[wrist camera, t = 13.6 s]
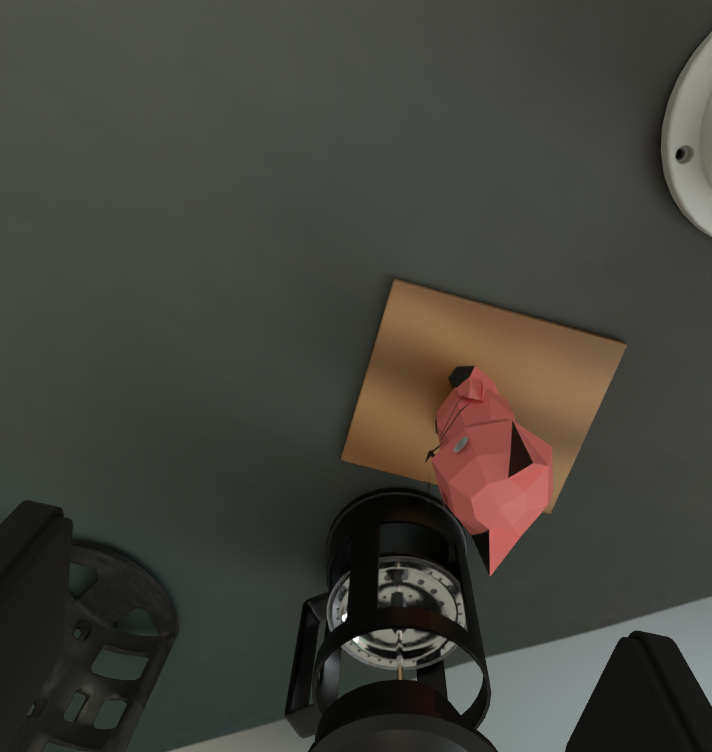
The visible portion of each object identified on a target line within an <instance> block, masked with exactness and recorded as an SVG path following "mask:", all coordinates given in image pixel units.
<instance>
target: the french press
mask: <svg viewBox="0 0 712 752" xmlns="http://www.w3.org/2000/svg"><path fill="white" fill-rule="evenodd" d="M427 500H428V501H429V509H428V502H427ZM387 523H409V524H414V525H419V526H422V527H425V528H427V529H430V530H433V531H435V532H436V533H438V534H439V535H441V536H443V537H444V538H445V539H446V541H447V544H448V557H447V560H446V563H445V565H444V566H442V565H441V564H439V563H437V562H435V561H433V560H431V559H428V558H426V557H423V556H420V555H415V554H410V553H398V552H392V553H382V554H379V527H380V524H387ZM352 536H353V539H352V552H351V565H349V562H348V560H347V555H346V544H347V540H349V539H350V538H351V537H352ZM467 549H468V548H467V541H466V535H465V532H464V530H463V527H462V525H461V523H460V521H459V520H458V518H457V517H455V515H454V514H453V513H452V511H451V510H450V509H449V508H448V507H447V506H446V505H445V509H444V506H443V503H442V502H441V501H439V500H437V499H436V498H434V497H432V496H430V495H427V494H425V493H423V492H420V491H415V490H410V489H399V488H391V489H383V490H377V491H374V492H371V493H368V494H365V495H363V496H361V497H359V498H358V499H356V500H354V501H352V502H351V503H350V504H349V505H348V506H346V507H345V508H344V509H343V510H342V511H341V513H340V514H339V515H338V516H337V517H336V519H335V521H334V523H333V525H332V527H331V529H330V532H329V536H328V540H327V556H328V566H327V586H328V590H329V591H328V592H326V593H323V594H320V595H318V596H315V597H313V598H310V599H308V600H306V601H305V602H304V604H303V607H302V613H301V619H300V625H299V631H298V637H297V643H296V649H295V655H294V660H293V666H292V672H291V678H290V684H289V690H288V696H287V702H286V708H285V717H286V719H287V720H288V722H289V723H290V724H291V726H292V727H293V728H294V730H295V731H296V732H297V734H298V735H299V736H300V737H301V738H307V737H310V736H312V735H315V742H314V743H313V744H312V746H311V747H310V749H309V751H308V752H498V751H497V750H496V748H495V747H494V746H493V744H492V743H491V742H490V741H489V740H488V739H487V738H486V737H485V736H484V735H482V734H481V733H480V732H479V731H477V728H478V727H479V726H480V724H481V723H482V721H483V720H484V719H485V716H486V714H487V711H488V708H489V706H490V698H491V688H490V682H489V676H488V670H487V665H486V660H485V654H484V649H483V644H482V638H481V633H480V628H479V622H478V617H477V612H476V606H475V601H474V596H473V590H472V585H471V580H470V574H469V569H468V564H467ZM325 619H327V620H326V628H325V637H324V642H323V643H322V645H321V647H320V649H319V651H318V654H317V658H316V662H315V667H314V659H315V652H316V644H317V637H318V629H319V624H320V622H321V621H323V620H325ZM458 646H460V647H461V648H462V649H464V650H465V651H466V652H467V653H468V654H469V655H470V656H472V658H473V659H474V660H475V662H476V663H477V664H478V666H479V667H480V668H481V671H482V673H483V682H482V687H481V689H480V692H479V694H478V697H477V698H476V700H475V701H474V703H473V704H472V705H471V707H470V708H469V709H468V710H467V711H465V712H464V713H463V714H462V715H460V714H459V713H458V711H457V710H456V709H455V708H454V707H453V706H452V704H451V703H450V702H449V701H448V697H447V688H446V680H445V670H444V661H443V659H444V658H445V657H447V656H448V655H450V654H451V653H452V652H453V651H454V650H455V649H456V648H457V647H458ZM341 649H344V650H345V651H346V652H347V653H349V654H350V655H351V656H352V657H354V658H356V659H358V660H359V661H361V662H363V663H365V664H368V665H371V666H374V667H377V668H382V669H387V670H397V680H388V681H379V682H375V683H371V684H368V685H364V686H361V687H359V688H357V689H354V690H352V691H350V692H348V693H346V694H345V695H343V696H342V697H340V698H339V699H338V700H337V697H338V685H339V673H340V661H341ZM313 667H314V674H313ZM412 669H417V681H415V680H404V673H403V670H412ZM320 670H321V671H320ZM319 672H320V680H319V678H318V675H319ZM312 675H313V682H312ZM311 682H312V699H313V702H314V704H311V705H309V698H310V690H311Z"/></svg>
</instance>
